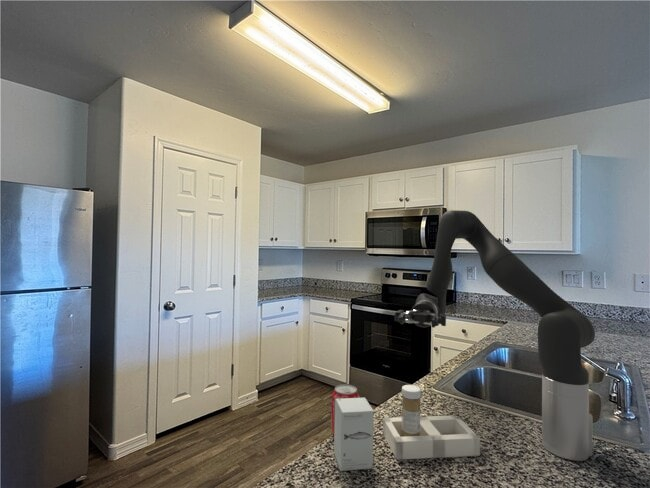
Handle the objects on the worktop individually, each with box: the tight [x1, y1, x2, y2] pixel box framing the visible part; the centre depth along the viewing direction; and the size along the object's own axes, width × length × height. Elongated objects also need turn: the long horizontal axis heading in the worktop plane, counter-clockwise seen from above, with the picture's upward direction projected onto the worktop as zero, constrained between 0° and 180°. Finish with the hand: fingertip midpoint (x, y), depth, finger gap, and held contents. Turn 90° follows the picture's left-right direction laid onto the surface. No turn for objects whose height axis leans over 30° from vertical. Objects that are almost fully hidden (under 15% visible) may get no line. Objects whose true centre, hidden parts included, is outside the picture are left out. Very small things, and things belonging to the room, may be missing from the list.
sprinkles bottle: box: [401, 384, 422, 437], centre depth 83 cm, size 5×5×13 cm
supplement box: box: [333, 396, 375, 472], centre depth 76 cm, size 7×7×13 cm
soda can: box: [330, 383, 360, 436], centre depth 86 cm, size 7×7×12 cm
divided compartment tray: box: [382, 414, 481, 460], centre depth 83 cm, size 20×11×4 cm, turn 96°
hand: (416, 322), depth 93 cm, fingers open, 8 cm apart
